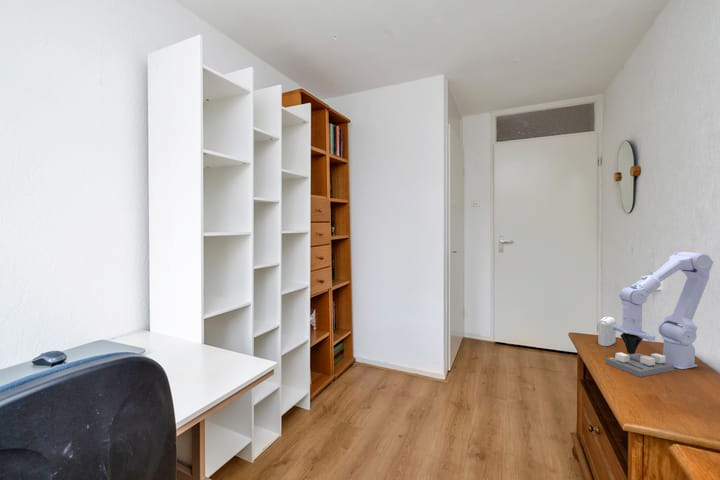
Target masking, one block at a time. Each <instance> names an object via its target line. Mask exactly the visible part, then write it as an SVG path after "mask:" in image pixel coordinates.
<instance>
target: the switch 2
mask: <svg viewBox="0 0 720 480" xmlns="http://www.w3.org/2000/svg"><path fill="white" fill-rule="evenodd" d="M650 357H653V358H655V362H657V363H665V358H666V356H663V354H660V353H656V352H655V353H651V354H650Z"/></svg>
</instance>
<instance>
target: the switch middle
mask: <svg viewBox="0 0 720 480" xmlns="http://www.w3.org/2000/svg"><path fill="white" fill-rule="evenodd" d="M643 355H644V356H640V363H643V364H646V365H649V366H651V365H655V358H653V357H651V355H650V356H649V355H646V354H643Z"/></svg>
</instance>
